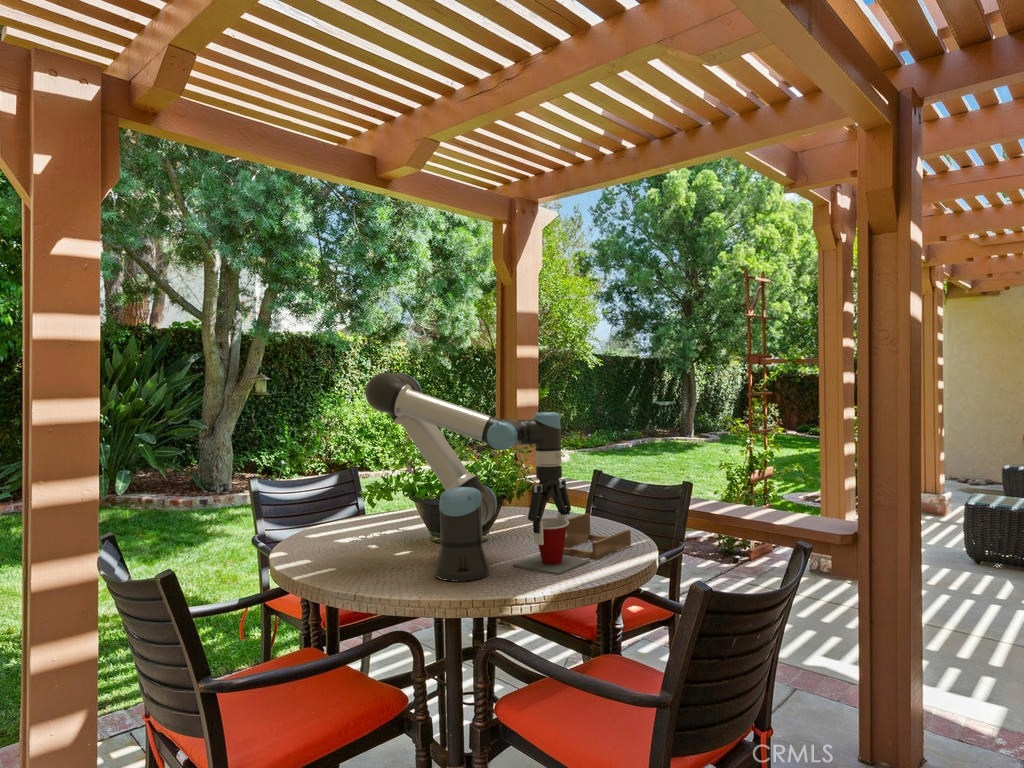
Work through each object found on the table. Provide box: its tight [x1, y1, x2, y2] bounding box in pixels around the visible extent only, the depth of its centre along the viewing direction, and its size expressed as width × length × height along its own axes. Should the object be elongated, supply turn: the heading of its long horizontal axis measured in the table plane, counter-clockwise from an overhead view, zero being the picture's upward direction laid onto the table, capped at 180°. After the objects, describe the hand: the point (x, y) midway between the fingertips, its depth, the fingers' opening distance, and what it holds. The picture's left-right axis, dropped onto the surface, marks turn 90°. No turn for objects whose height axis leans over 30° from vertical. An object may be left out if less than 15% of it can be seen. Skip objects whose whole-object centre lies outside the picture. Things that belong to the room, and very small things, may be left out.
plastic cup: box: [531, 517, 569, 565], centre depth 190 cm, size 11×11×12 cm
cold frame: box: [563, 513, 632, 560], centre depth 208 cm, size 16×21×9 cm
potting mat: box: [512, 554, 591, 576], centre depth 190 cm, size 16×16×1 cm
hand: (550, 540), depth 190 cm, fingers open, 11 cm apart
